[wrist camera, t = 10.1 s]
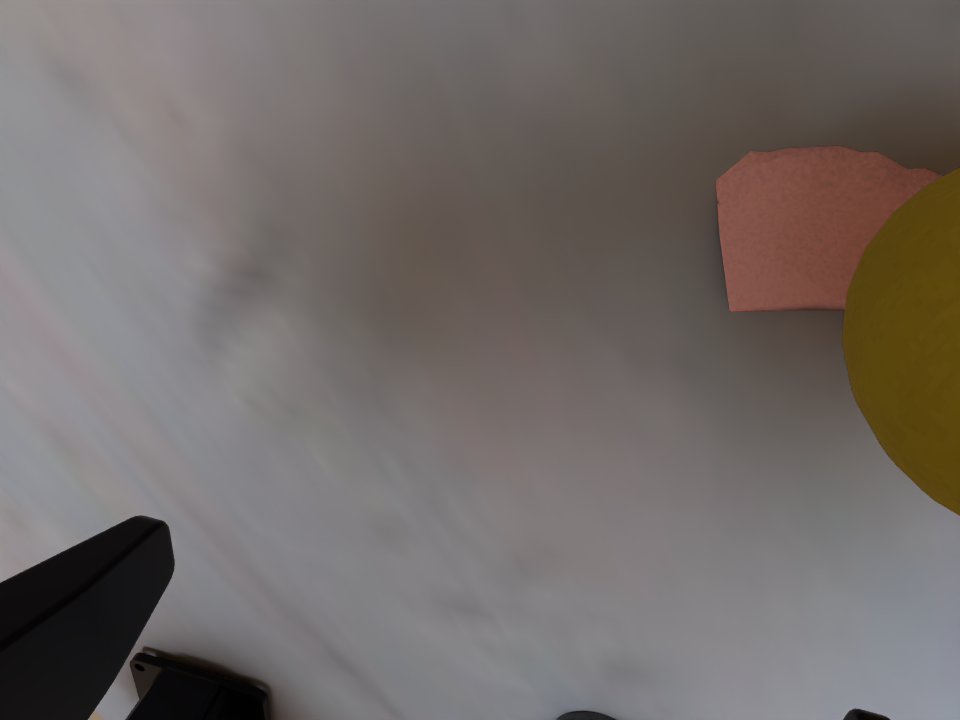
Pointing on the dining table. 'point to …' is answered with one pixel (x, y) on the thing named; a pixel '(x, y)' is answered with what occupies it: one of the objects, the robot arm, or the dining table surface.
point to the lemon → (912, 338)
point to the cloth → (804, 222)
